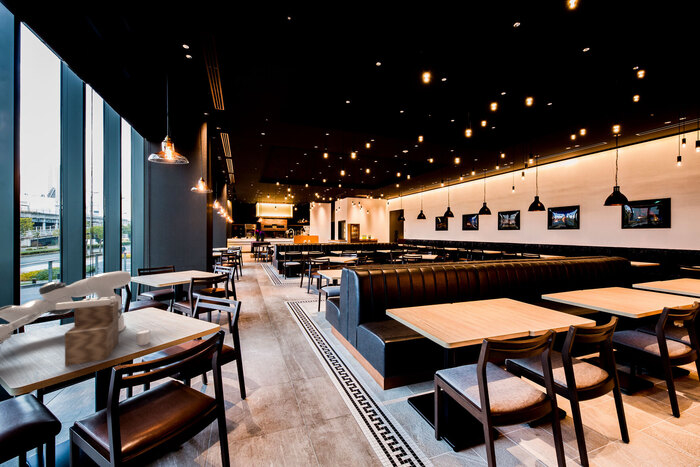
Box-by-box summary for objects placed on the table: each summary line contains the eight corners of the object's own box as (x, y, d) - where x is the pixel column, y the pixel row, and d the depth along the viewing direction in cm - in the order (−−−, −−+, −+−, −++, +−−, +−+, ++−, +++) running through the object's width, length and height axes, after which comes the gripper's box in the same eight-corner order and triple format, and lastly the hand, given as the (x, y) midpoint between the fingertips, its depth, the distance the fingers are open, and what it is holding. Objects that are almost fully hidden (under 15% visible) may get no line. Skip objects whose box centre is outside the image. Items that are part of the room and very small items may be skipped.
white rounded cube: (141, 341, 170) (141, 329, 170) (153, 340, 171) (153, 329, 171) (133, 345, 164) (133, 333, 163) (145, 345, 164) (145, 333, 164)
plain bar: (55, 309, 148) (55, 304, 148) (58, 308, 151) (58, 302, 151) (109, 304, 158) (109, 299, 158) (110, 303, 161) (110, 298, 161)
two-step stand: (65, 365, 139) (64, 315, 139) (82, 347, 160) (82, 303, 160) (106, 359, 147) (106, 311, 146) (118, 342, 168) (118, 300, 168)
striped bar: (81, 305, 157) (81, 300, 157) (84, 304, 159) (83, 298, 159) (114, 302, 163) (114, 297, 163) (115, 301, 166) (115, 296, 166)
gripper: (16, 331, 150) (46, 315, 156) (-11, 345, 132) (25, 326, 138) (7, 322, 149) (38, 306, 154) (-21, 335, 131) (16, 316, 136)
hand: (32, 316), depth 146 cm, fingers open, 8 cm apart
